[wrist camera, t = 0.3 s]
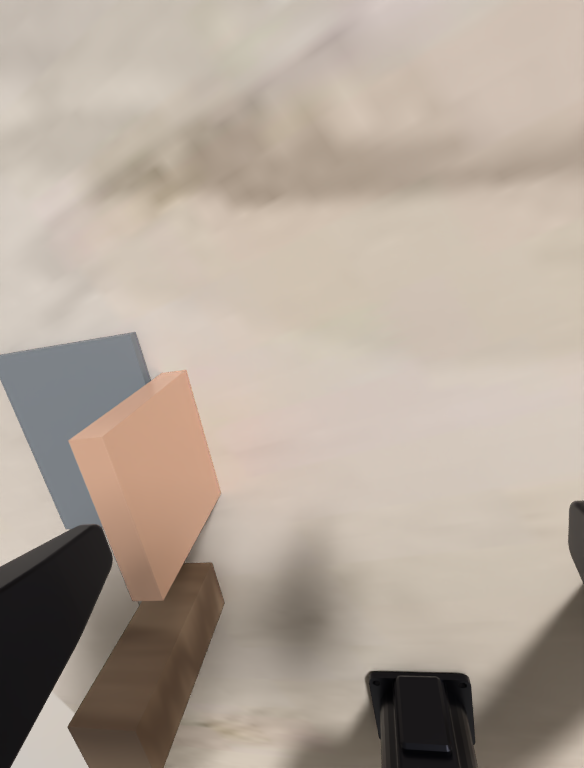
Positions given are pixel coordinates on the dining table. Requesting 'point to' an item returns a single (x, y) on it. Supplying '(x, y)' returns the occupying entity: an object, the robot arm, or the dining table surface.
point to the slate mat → (70, 406)
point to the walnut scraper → (150, 675)
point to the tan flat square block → (150, 481)
